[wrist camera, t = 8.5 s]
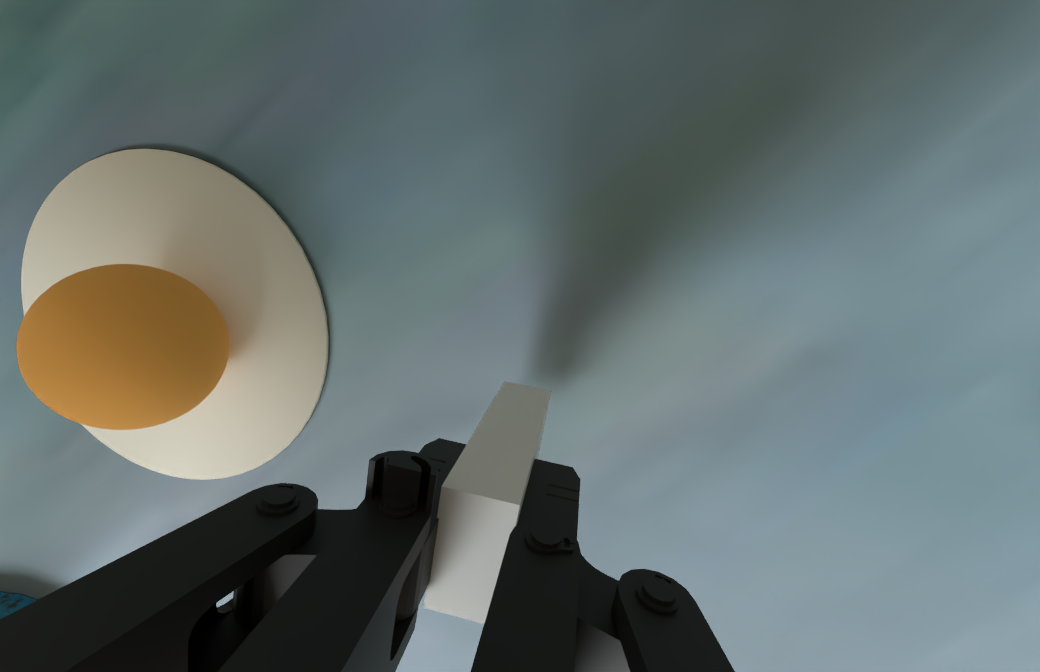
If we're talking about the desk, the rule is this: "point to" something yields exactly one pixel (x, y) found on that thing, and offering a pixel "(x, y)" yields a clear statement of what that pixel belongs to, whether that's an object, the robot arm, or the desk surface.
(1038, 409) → the desk surface
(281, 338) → the disc
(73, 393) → the ball
